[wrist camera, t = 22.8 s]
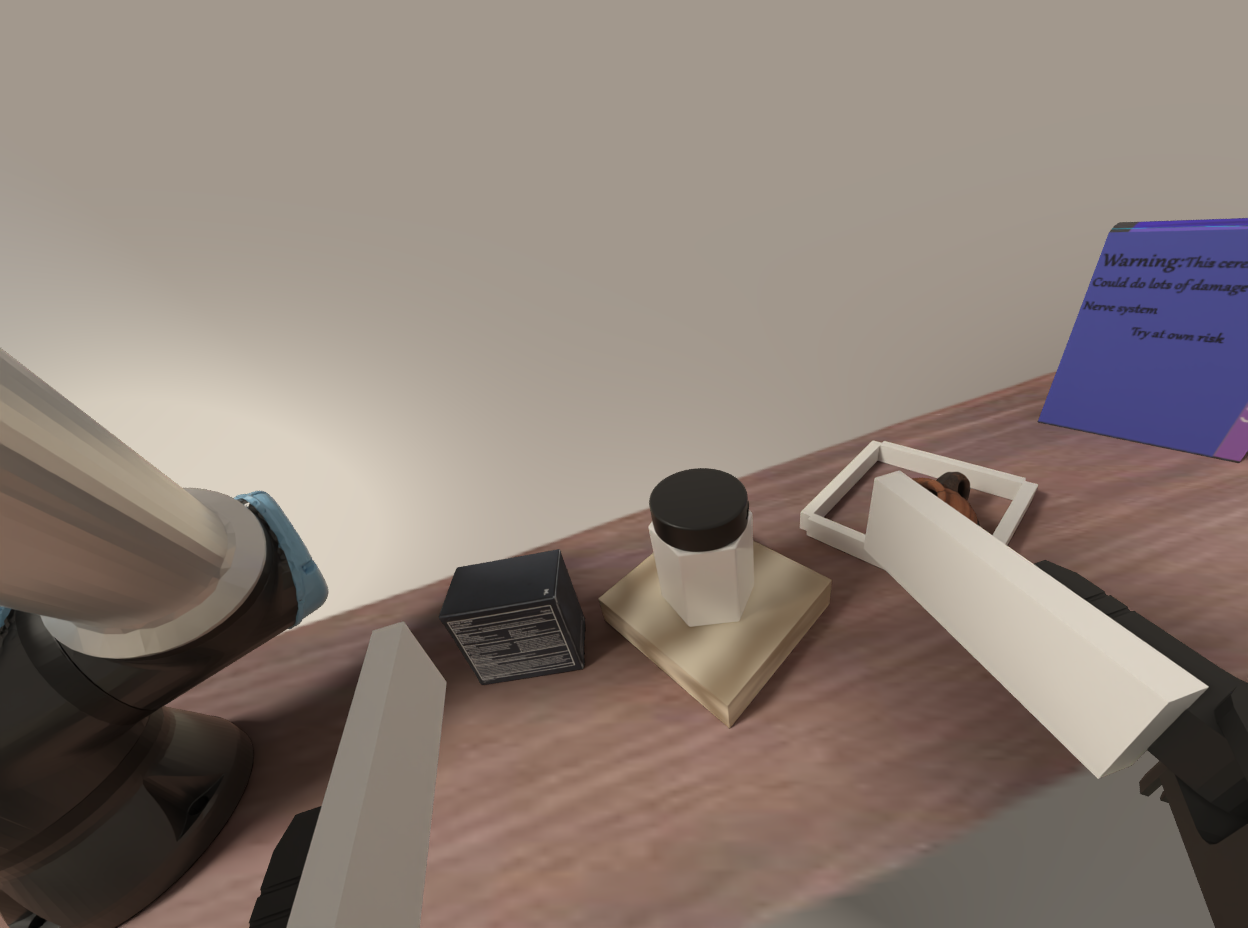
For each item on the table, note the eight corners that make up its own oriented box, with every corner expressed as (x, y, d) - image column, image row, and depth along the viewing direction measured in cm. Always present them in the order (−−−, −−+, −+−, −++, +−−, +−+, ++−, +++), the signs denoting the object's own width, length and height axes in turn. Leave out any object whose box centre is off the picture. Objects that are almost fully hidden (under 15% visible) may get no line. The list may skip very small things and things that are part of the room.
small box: (586, 614, 49) (562, 544, 43) (585, 670, 43) (557, 599, 37) (491, 630, 49) (455, 563, 43) (479, 687, 44) (435, 619, 38)
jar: (773, 599, 42) (774, 499, 35) (703, 646, 39) (690, 547, 32) (711, 546, 49) (702, 454, 42) (648, 583, 46) (628, 491, 39)
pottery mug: (975, 596, 43) (937, 537, 40) (880, 577, 51) (844, 528, 49) (1016, 505, 47) (984, 447, 45) (922, 502, 56) (891, 453, 53)
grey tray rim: (797, 530, 53) (797, 514, 52) (872, 453, 63) (874, 438, 61) (972, 609, 41) (979, 591, 40) (1032, 499, 51) (1039, 481, 49)
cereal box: (1243, 443, 52) (1403, 210, 39) (1238, 463, 50) (1407, 222, 37) (1048, 407, 64) (1120, 220, 51) (1037, 422, 62) (1109, 230, 49)
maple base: (605, 620, 47) (598, 598, 45) (702, 535, 55) (700, 514, 53) (729, 728, 36) (727, 705, 35) (829, 604, 44) (832, 579, 42)
